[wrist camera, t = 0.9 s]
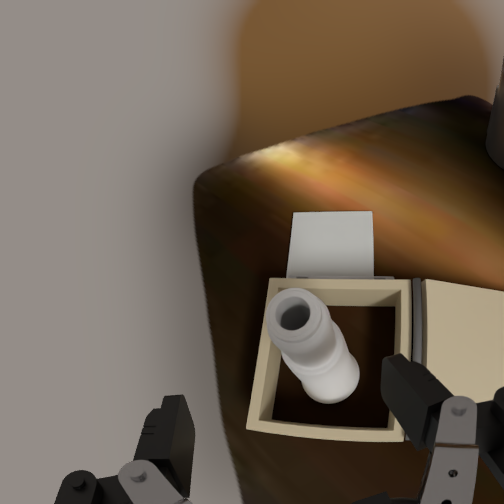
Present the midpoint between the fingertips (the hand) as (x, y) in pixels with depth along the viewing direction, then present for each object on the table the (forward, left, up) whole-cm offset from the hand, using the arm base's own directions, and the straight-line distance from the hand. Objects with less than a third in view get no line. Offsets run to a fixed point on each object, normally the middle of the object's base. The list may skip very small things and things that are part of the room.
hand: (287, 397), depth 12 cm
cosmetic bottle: (-3, 0, -21) cm, 22 cm away
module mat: (-18, -1, -21) cm, 28 cm away
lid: (-4, +15, -18) cm, 24 cm away
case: (-4, 0, -21) cm, 22 cm away
